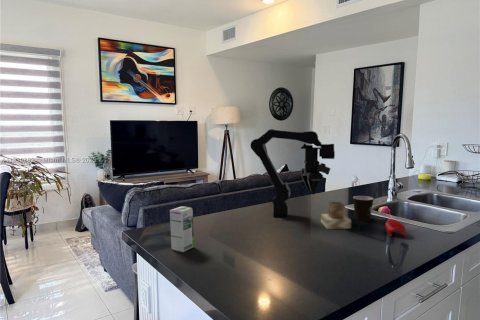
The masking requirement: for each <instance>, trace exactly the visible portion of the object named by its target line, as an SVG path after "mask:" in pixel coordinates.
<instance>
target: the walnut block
mask: <svg viewBox="0 0 480 320" xmlns="http://www.w3.org/2000/svg"><path fill="white" fill-rule="evenodd" d="M328 214H329V216H330V217H331V218H332V219H344V214H345V204H344V203H343V202H341V201H328Z"/></svg>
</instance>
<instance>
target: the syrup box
mask: <svg viewBox="0 0 480 320" xmlns="http://www.w3.org/2000/svg"><path fill="white" fill-rule="evenodd" d="M169 220H170V223H169V224H170V243H171V250H174V251H176V252H179V253H181V252H182V253H185V252H186V251H188V250H190V249H192V248H194V247H195V239H194V237H195V235H194V212H193V208H192V207H190V206H184V205H183V206H179V207H175V208H172V209H169Z"/></svg>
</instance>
